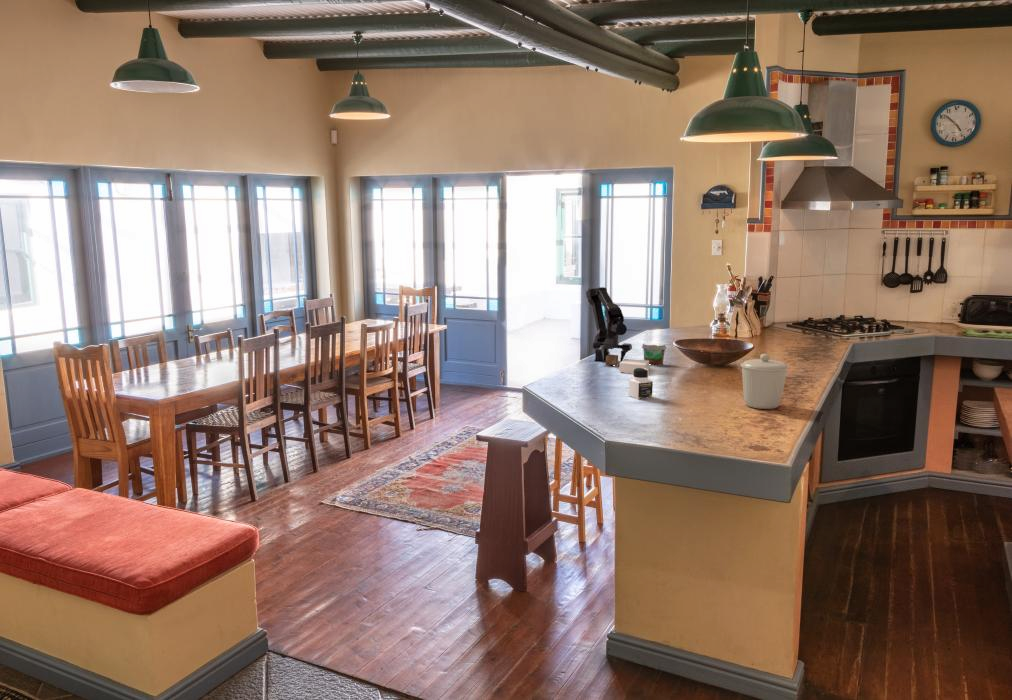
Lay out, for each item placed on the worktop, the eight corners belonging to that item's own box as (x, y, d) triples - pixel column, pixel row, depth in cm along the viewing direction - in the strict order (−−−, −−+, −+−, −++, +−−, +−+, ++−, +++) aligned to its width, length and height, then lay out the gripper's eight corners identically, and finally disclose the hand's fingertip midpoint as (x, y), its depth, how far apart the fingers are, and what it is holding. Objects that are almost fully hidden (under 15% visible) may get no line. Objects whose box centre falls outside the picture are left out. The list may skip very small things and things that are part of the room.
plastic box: (619, 373, 379) (619, 363, 378) (624, 368, 390) (624, 358, 389) (644, 375, 375) (644, 364, 374) (648, 370, 386) (649, 360, 385)
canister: (779, 414, 302) (783, 359, 298) (732, 408, 311) (735, 355, 308) (790, 404, 317) (794, 352, 313) (745, 399, 326) (748, 348, 323)
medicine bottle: (638, 399, 325) (639, 370, 323) (628, 396, 331) (628, 367, 329) (652, 397, 328) (653, 369, 326) (641, 394, 334) (642, 366, 332)
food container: (638, 364, 400) (638, 344, 398) (642, 362, 405) (642, 342, 404) (662, 366, 394) (662, 346, 393) (665, 364, 400) (666, 344, 398)
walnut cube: (605, 365, 396) (605, 356, 395) (608, 364, 401) (608, 354, 400) (615, 366, 394) (615, 356, 394) (618, 364, 399) (618, 355, 398)
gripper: (589, 333, 391) (589, 364, 394) (627, 335, 384) (626, 367, 387) (596, 330, 401) (595, 360, 404) (632, 332, 394) (631, 363, 397)
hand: (611, 363), depth 397 cm, fingers open, 9 cm apart
